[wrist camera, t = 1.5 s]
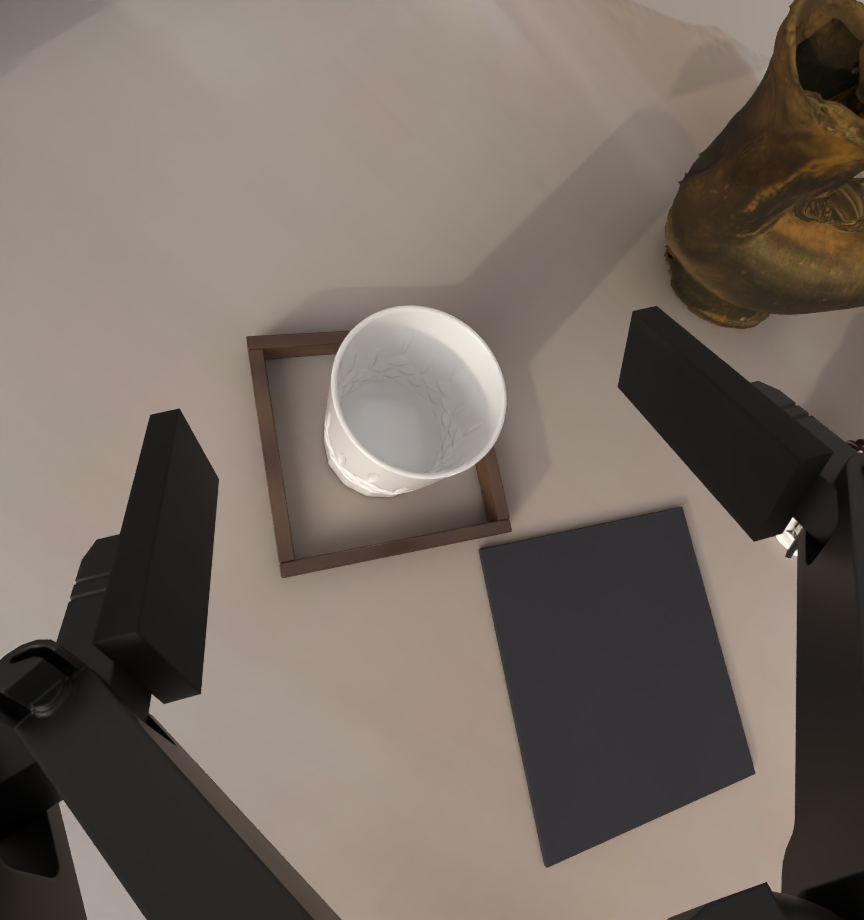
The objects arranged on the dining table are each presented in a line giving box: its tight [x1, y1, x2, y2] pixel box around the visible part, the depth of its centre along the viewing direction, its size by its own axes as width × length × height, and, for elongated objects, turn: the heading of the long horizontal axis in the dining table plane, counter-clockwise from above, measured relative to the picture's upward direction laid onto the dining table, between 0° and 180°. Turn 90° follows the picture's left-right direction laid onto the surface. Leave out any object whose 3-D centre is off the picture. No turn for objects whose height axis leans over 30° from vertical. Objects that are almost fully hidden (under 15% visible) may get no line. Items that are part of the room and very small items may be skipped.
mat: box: [479, 507, 755, 868], centre depth 33 cm, size 18×16×1 cm
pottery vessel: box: [664, 0, 864, 329], centre depth 34 cm, size 25×11×20 cm, turn 91°
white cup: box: [324, 305, 507, 497], centre depth 27 cm, size 8×8×10 cm
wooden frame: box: [246, 331, 512, 578], centre depth 31 cm, size 14×14×2 cm
